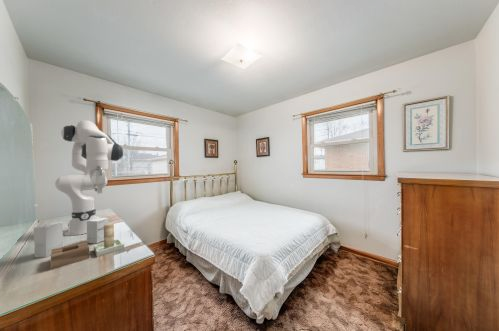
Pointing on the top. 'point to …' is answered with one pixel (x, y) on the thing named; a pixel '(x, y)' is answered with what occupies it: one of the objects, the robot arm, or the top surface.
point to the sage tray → (101, 251)
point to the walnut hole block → (69, 254)
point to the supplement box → (96, 230)
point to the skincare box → (48, 238)
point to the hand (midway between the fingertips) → (98, 192)
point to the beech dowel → (108, 236)
